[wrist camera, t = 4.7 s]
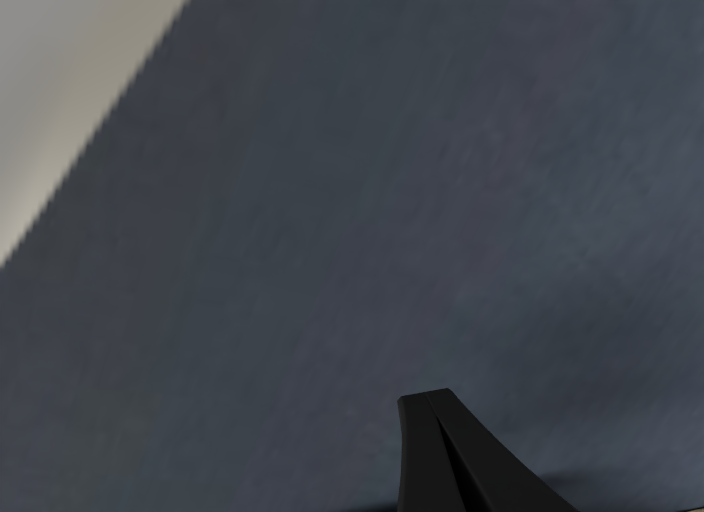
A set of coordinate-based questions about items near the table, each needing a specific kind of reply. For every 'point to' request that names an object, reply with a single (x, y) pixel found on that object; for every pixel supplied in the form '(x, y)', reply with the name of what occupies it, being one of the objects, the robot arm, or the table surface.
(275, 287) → the table surface
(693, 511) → the control block
